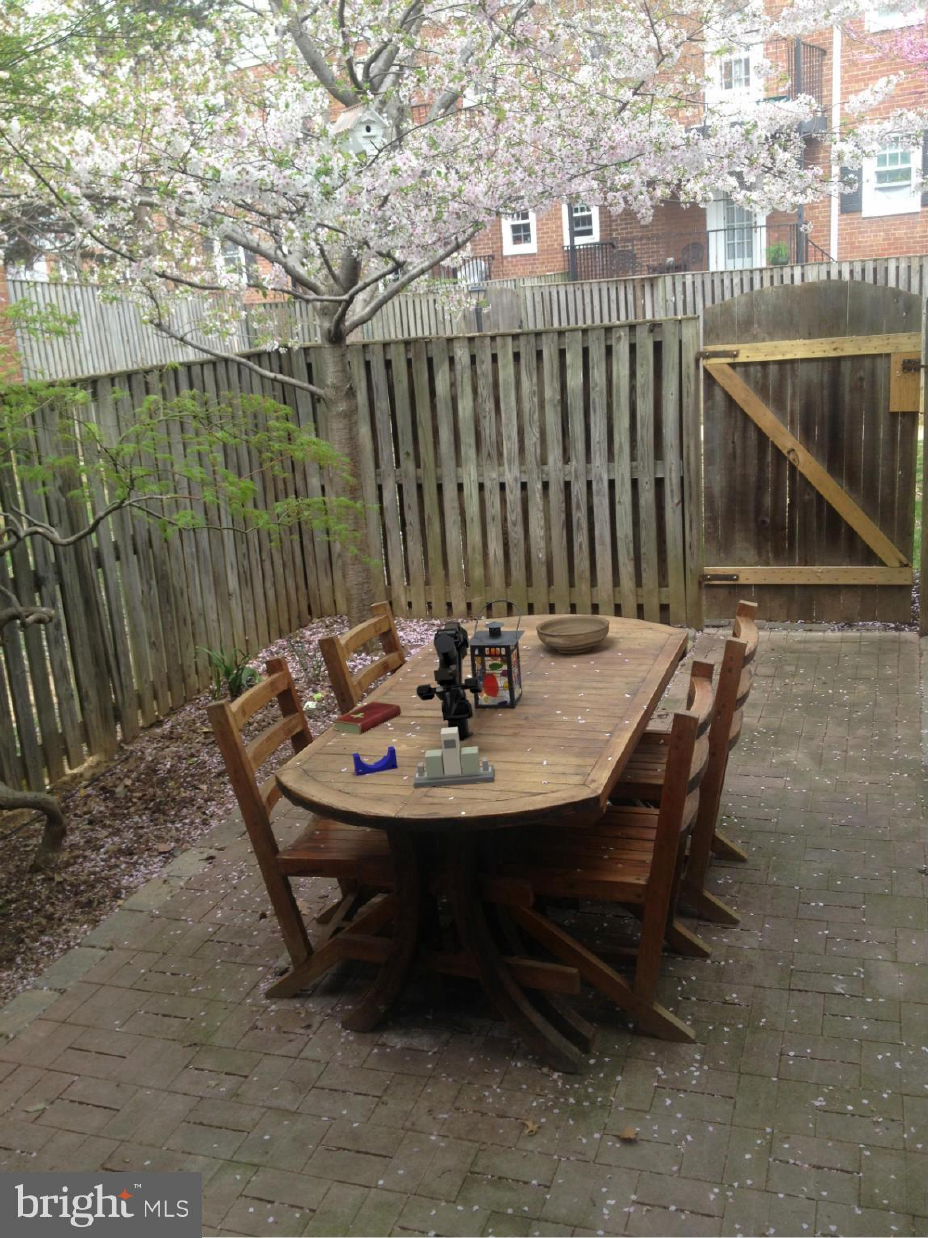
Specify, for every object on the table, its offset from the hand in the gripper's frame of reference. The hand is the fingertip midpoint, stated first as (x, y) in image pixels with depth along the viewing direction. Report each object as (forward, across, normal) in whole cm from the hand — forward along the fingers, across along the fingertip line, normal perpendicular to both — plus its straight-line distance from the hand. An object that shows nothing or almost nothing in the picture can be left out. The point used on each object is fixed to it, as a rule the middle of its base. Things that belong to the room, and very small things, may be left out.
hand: (450, 716), depth 310 cm
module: (+19, +2, -5) cm, 19 cm away
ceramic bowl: (-63, +24, +100) cm, 120 cm away
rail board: (+20, +1, -3) cm, 20 cm away
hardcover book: (-15, -38, +34) cm, 54 cm away
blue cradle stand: (+13, -24, +3) cm, 27 cm away
